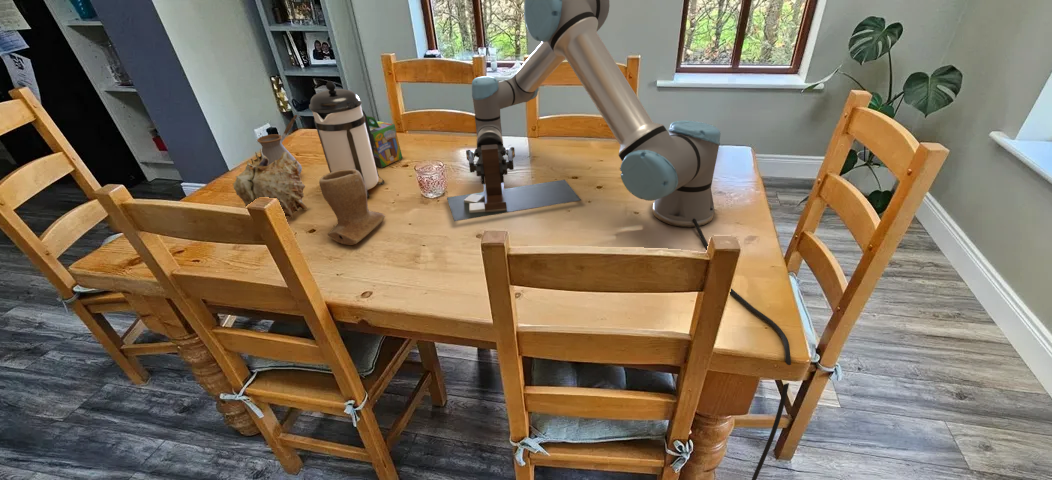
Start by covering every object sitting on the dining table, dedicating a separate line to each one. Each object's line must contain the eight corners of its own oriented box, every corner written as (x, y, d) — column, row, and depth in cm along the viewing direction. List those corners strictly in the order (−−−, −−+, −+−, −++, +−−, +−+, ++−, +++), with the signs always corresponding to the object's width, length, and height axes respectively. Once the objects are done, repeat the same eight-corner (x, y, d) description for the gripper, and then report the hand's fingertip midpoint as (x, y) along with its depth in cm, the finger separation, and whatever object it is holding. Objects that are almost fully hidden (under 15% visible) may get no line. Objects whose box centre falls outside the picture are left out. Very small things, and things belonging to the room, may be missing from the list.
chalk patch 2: (485, 211, 125) (485, 209, 125) (469, 213, 125) (469, 210, 124) (485, 204, 128) (484, 202, 128) (469, 205, 128) (469, 203, 128)
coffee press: (395, 192, 139) (370, 82, 121) (337, 206, 132) (302, 92, 115) (379, 171, 151) (355, 69, 134) (325, 183, 145) (292, 78, 127)
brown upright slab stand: (506, 210, 125) (501, 155, 116) (485, 212, 125) (478, 156, 116) (504, 190, 135) (499, 137, 126) (484, 192, 134) (478, 139, 126)
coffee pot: (291, 188, 143) (272, 138, 134) (255, 186, 144) (235, 137, 135) (328, 160, 160) (314, 114, 151) (296, 158, 161) (280, 113, 152)
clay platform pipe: (352, 214, 129) (336, 160, 120) (392, 219, 126) (379, 164, 117) (315, 243, 117) (295, 186, 108) (358, 250, 114) (341, 191, 105)
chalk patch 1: (476, 205, 128) (476, 202, 128) (464, 202, 130) (463, 199, 129) (484, 198, 131) (484, 196, 131) (472, 196, 133) (471, 193, 132)
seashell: (297, 136, 125) (249, 142, 128) (253, 166, 111) (200, 173, 114) (328, 197, 135) (283, 201, 139) (292, 232, 121) (243, 236, 125)
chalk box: (403, 158, 159) (393, 113, 151) (381, 168, 153) (370, 121, 144) (383, 153, 163) (373, 109, 155) (362, 163, 157) (350, 117, 148)
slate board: (581, 205, 130) (581, 200, 129) (454, 226, 122) (454, 221, 121) (564, 184, 141) (564, 179, 140) (447, 202, 133) (446, 197, 132)
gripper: (520, 155, 142) (527, 189, 123) (461, 159, 140) (459, 194, 121) (518, 129, 138) (526, 161, 119) (458, 133, 136) (455, 166, 117)
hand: (492, 178), depth 120 cm, fingers closed on brown upright slab stand, 4 cm apart
